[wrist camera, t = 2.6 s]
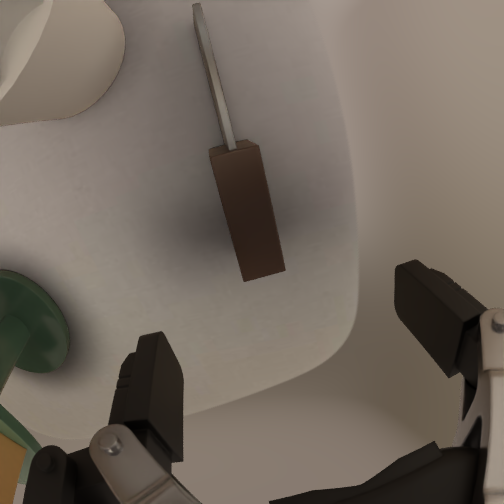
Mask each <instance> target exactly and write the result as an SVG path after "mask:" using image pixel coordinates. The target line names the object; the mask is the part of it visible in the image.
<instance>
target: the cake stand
mask: <svg viewBox="0 0 504 504" xmlns="http://www.w3.org/2000/svg"><path fill="white" fill-rule="evenodd" d="M69 346H70V336H69V330H68V327H67V324H66V321H65V319H64V317H63V315H62V313H61V311H60V310H59V308H58V306H57V305H56V304H55V302H54V301H53V300H52V298H51V297H50V296H49V295H48V294H47V293H46V292H45V291H44V290H43V289H42V288H41V287H40V286H38V285H37V284H36V283H34V282H33V281H31V280H30V279H28V278H27V277H25V276H23V275H21V274H18V273H15V272H12V271H6V270H0V394H1V392H2V390H3V388H4V386H5V384H6V382H7V380H8V378H9V376H10V374H11V372H12V370H13V369H14V367H15V366H16V367H18V368H20V369H23V370H26V371H29V372H34V373H47V372H51V371H54V370H56V369H57V368H59V367H60V366H61V365H62V363H63V362H64V360H65V358H66V355H67V353H68V350H69ZM0 433H2V434H3V435H5V436H6V437H8V438H9V439H11V440H12V441H14V442H16V443H17V444H19V445H20V446H22V447H24V448H25V449H27V451H26V454H25V457H24V461H23V464H22V468H21V471H20V475H19V479H18V483H20V484H26V483H27V478H28V474H29V469H30V465H31V461H32V459H33V457H34V455H35V454H36V453H37V452H38V451H39V450H40V449H42V447H41V446H40V444H39V443H38V442H37V441H36V439H35V438H34V437H33V436H32V435H31V434H30V433H29V432H28V431H27V429H26V428H25V427H24V426H23V425H22V424H21V423H20V422H19V421H18V420H17V419H16V418H15V417H14V416H13V415H12V414H10V413H9V412H8V411H7V410H6V409H5V408H4V407H3V406H2V405H1V404H0Z"/></svg>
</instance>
